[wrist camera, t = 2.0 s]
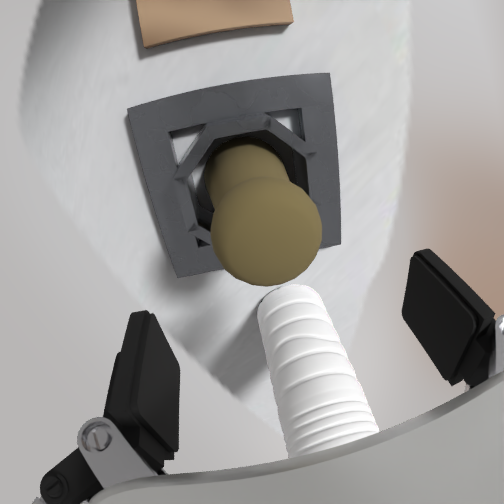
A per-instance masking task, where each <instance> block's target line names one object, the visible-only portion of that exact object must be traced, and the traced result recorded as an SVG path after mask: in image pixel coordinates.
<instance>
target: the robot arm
mask: <svg viewBox="0 0 504 504" xmlns="http://www.w3.org/2000/svg"><path fill="white" fill-rule="evenodd" d="M494 315H495V313H494V312H493V311H492V309H491V308H490V307H489V306H488V305H487V304H486V303H485V302H484V301H483V300H482V299H481V298H480V297H479V296H478V295H477V294H476V293H475V292H474V291H473V290H472V289H471V288H470V287H469V286H468V285H467V284H466V283H465V282H464V281H463V280H462V279H461V278H460V277H459V276H458V275H457V274H456V273H455V272H454V271H453V270H452V269H451V268H450V267H449V266H448V265H447V264H446V263H445V262H443V261H442V260H441V259H440V258H439V257H438V256H437V255H436V254H435V253H434V252H432V251H431V250H430V249H424V250H420V251H417V252H415V253H414V255H413V257H411V260H410V266H409V273H408V279H407V286H406V291H405V297H404V302H403V307H402V316H403V319H404V320H405V321H406V323H407V324H408V326H409V327H410V329H411V330H412V332H413V333H414V335H415V336H416V338H417V339H418V341H419V342H420V343H421V345H422V346H423V348H424V349H425V351H426V352H427V354H428V355H429V357H430V358H431V360H432V361H433V363H434V364H435V366H436V367H437V369H438V371H439V372H440V374H441V375H442V377H443V378H444V379H445V380H448V381H449V383H450V384H451V386H453V385H455V384H457V383H459V382H461V381H462V380H463V379H464V381H465V382H466V386H465V393H463V394H461V395H459V396H458V397H456V398H454V399H452V400H450V401H449V402H446V403H444V404H442V405H440V406H438V407H436V408H434V409H432V410H430V411H428V412H426V413H424V414H421V415H419V416H417V417H415V418H413V419H410V420H408V421H406V422H403V423H401V424H399V425H396V426H394V427H391V428H388V429H386V430H384V431H381V432H378V433H375V434H373V435H370V436H367V437H364V438H361V439H358V440H355V441H352V442H349V443H346V444H343V445H339V446H336V447H333V448H329V449H326V450H322V451H318V452H314V453H311V454H307V455H303V456H298V457H294V458H290V459H285V460H280V461H275V462H270V463H264V464H259V465H253V466H246V467H239V468H232V469H224V470H217V471H206V472H196V473H183V474H182V473H181V474H170V475H168V474H167V473H166V472H165V470H164V469H163V467H164V460H174V452H177V451H178V449H179V391H180V367H179V363H178V361H177V359H176V357H175V355H174V353H173V351H172V349H171V347H170V345H169V343H168V342H167V339H166V337H165V335H164V333H163V331H162V329H161V327H160V325H159V323H158V321H157V319H156V316H155V315H154V314H153V313H152V314H150V313H149V312H148V311H147V310H145V311H139V312H133V313H131V315H130V318H129V322H128V325H127V329H126V333H125V337H124V341H123V345H122V349H121V352H119V353H118V354H117V356H116V359H115V363H114V367H113V372H112V376H111V380H110V385H109V390H108V394H107V399H106V404H105V409H104V415H103V417H97V418H92V419H90V420H88V421H87V422H86V423H85V424H83V426H82V427H81V428H80V430H79V432H78V436H77V444H78V446H79V447H78V448H77V449H76V450H75V451H73V452H72V453H71V454H70V455H69V456H67V457H66V458H65V459H64V460H62V461H61V462H60V463H59V464H57V465H56V466H55V467H54V468H52V469H51V470H50V471H49V472H47V473H46V474H45V475H44V477H43V478H42V481H41V484H40V493H41V498H38V497H36V499H35V500H34V502H33V503H32V504H504V315H501V316H500V317H498V318H497V320H496V321H495V319H494Z"/></svg>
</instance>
